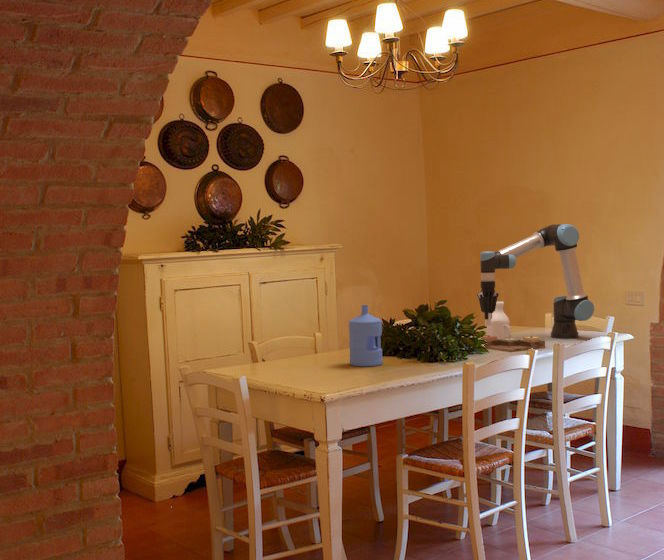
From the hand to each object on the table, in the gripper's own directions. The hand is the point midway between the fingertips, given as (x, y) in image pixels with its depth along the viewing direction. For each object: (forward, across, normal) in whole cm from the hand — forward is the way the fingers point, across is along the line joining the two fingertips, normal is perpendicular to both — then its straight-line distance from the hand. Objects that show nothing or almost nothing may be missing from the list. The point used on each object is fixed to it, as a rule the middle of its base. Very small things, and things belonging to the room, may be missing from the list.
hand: (488, 325), depth 448 cm
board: (+11, -7, +9) cm, 16 cm away
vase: (+12, -32, -30) cm, 45 cm away
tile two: (+9, 0, 0) cm, 9 cm away
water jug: (+12, +82, +8) cm, 83 cm away
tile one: (+10, -7, +9) cm, 15 cm away
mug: (+12, -22, -15) cm, 29 cm away
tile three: (+8, -14, +17) cm, 24 cm away
